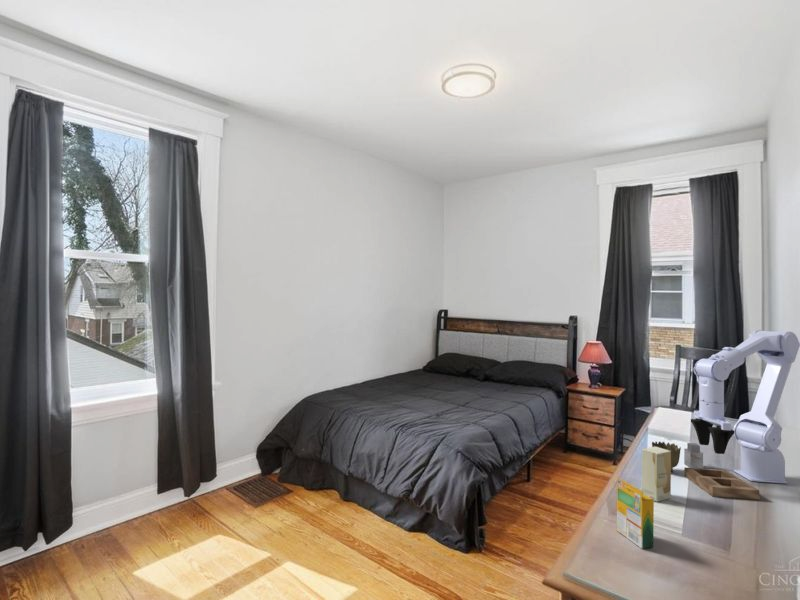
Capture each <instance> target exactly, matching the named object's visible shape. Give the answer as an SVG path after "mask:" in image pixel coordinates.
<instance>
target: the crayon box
mask: <svg viewBox="0 0 800 600" xmlns="http://www.w3.org/2000/svg"><path fill="white" fill-rule="evenodd" d="M616 481H617V482H616V485H617V486H616V532H618V533H619V534H621V535H622V536H624V537H625V538H626V539H628V540H629V541H630V542H632V543H634V545H636V546H637V547H639V548H640V549H642V550H643V549H644V550H645V549H651V548H654V529H655V528H654V521H655V520H654V518H655V517H654V514H655V513H654V507H655V505H654V504H655V501H654V500H653V499H652V498H650V497H648V496H646V495H644V494H642V492H643V491H641V488H640V489H639V488H638V487H636V486H635V485H632V484H630V483H628V482H626V481H625V480H623V479H622V478H619V477H616Z"/></svg>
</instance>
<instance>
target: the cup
mask: <svg viewBox="0 0 800 600" xmlns="http://www.w3.org/2000/svg"><path fill="white" fill-rule="evenodd" d="M651 447H659V448H662V449H666V450H669V451H671V473H673V472H674V468H675V467H677V466H678V464H679V463H680V456H681V450H682V449H681V446H680V447H678V444H676V443H670V442H666V443H665V441H662V442H661V441H655V442H654V441H652V442H651Z"/></svg>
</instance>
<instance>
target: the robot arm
mask: <svg viewBox="0 0 800 600" xmlns="http://www.w3.org/2000/svg"><path fill="white" fill-rule="evenodd" d="M721 349H722V350H720V351H719V352H717V353H715V354H714V353H713V354H712V355H711V356H710V357H708V358H701V359H699V360H697V361H696V363H695V364H694V367H693V368H692V369H693V373H694V375H695V376H696V382H697V383H698V404H699V405H698V410H693V417H694V418H691V419H690V423H691V424H692V425H693V427H694V431H695V432H696V437H697V440H698V443H699V444H698V445H699V446H709V444H710V439H712V445H713V451H714V453H715V454H719V455H725V453H726V450H727V447H728V444H729V441H730V440H731V438H732V437H733V436H734V438H735V440H737V444H739V445H740V469H733V472H734V473H737V475H739V476H741V477H743V478H745V479H747V480H748V481H750V482H756V483H757V482H759V483H760V482H761V483H771V484H772V483H775V484H786V485H787V484H788V481H787V480H786V459H785V456H784V453H782V451H781V450H780V449H779V447H780V445H781V443H782V431H783V428H782V426H781V425H780V424H779V422H777V420H776V419H775V415H776V413H777V410H778V407H779V405H780V404H779V403H780V401H781V398H782V396H783V395H782V394H783V392H784V389H785V386H786V383H787V380H788V377H789V373H790V371H791V368H792V365H793V364H792V363H795V361H796V358H797V355H798V352H799V349H800V341H799V339H798V336H797V334H796V333H795V332H794V331H777V330H776V331H774V330H773V331H772V330H771V331H770V330H761V329H759V330H758V329H757V330H753V332H750V333H749V335H748V338H747V339H745V340H744V341H743V342H741V343H739V344H738V345H737V346H735V347H732V346H724V347H723V348H721ZM754 354H757V355H758V357H759V358H760V359H761V360H763V361H765V363H766V365H765V370H764V372H763V374H762V377H761V380H760V384H759V386H758V389H757V392H756V395H755V397H754V401H753V404H752V406H751V410H750V411H748V412H745V413H743V414H741V415H740V416H739V418H738V420H737V422H735V423H734V426H733V428H732V423H731V422H730V421H728V420H727V418H725V393H724V392H725V381H726V380H727V379H729V376H730V374H731V373H732V371H733V370H735V369H736V368H738V367H740V366H742V365H743V364H744V363H745V359H746V358H747V357H750V356H751V355H754Z"/></svg>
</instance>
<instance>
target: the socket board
mask: <svg viewBox="0 0 800 600" xmlns="http://www.w3.org/2000/svg"><path fill="white" fill-rule="evenodd" d="M683 468H684V477H685V478H687V479H688V480H689V481H690V482H692V483H693V484H695V485H696V486H697V487H699V488H700V489H701V490H703V491H704V492H706V494H708V495H709V496H712V498H713V497H714V498H725V499H726V498H727V499H739V500H741V499H742V500H753V501H760V490H759V489H758V488H756V487H754V486H753V485H751V484H749V483H748V482H747V481H744V480H743V479H741V478H739V477H738V476H737V475H735V474H733V473H732V472H730V471H727V470H726V469H714V468H703V469H700V468H689V467H687V466H686V467H683Z"/></svg>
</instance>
